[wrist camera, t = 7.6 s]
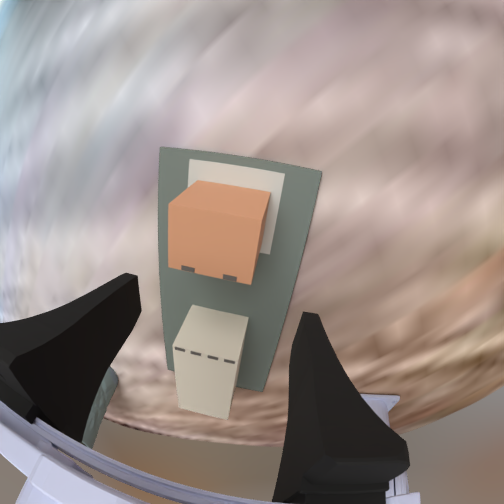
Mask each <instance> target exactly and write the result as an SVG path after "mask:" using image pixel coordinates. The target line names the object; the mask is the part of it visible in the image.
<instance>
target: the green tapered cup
mask: <svg viewBox="0 0 504 504" xmlns="http://www.w3.org/2000/svg"><path fill="white" fill-rule="evenodd" d="M117 384H118V377H117V375H116V373H115V372H114V370H113V369H112V368H111V367H110V366H109V368H108V370H107V372H106V374H105V376H104V378H103V381H102V383H101V385H100V387H99V390H98V392H97V395H96V397H95V400H94V402H93V405H92V408H91V411H90V414H89V417H88V420H87V424H86V428H85V431H84V435H83V440H82V442H81V444H83V445H84V446H86V447H88V448H90V449H92V448H93V445H94V442H95V439H96V437H97V434H98V430H99V426H100V424H101V421H102V419H103V417H104V414H105V413H106V409H107V406H108V404H109V402H110V399H111V397H112V395H113V394H114V391H115V389H116V387H117Z"/></svg>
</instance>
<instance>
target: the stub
mask: <svg viewBox="0 0 504 504" xmlns="http://www.w3.org/2000/svg"><path fill="white" fill-rule="evenodd" d="M270 193H271V192H267V191H262V190H256V189H251V188H245V187H239V186H233V185H227V184H220V183H214V182H207V181H201V180H197V181H196V182H195V183H193V184H192V185H191V186H190V187H188V188H187V189H186V190H185V191H183V192H182V193H181V194H180V195H179V196H177V197H176V198H175V199H174V200H173V201H171V202H170V203H169V204H168V267H170V268H174V269H178V270H183V271H187V272H192V273H197V274H201V275H206V276H210V277H215V278H220V279H225V280H229V281H234V282H239V283H244V284H249V285H251V283H252V279H253V276H254V272H255V268H256V264H257V260H258V257H259V253H260V249H261V245H262V239H263V234H264V228H265V222H266V216H267V211H268V205H269V199H270Z"/></svg>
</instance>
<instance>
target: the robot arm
mask: <svg viewBox="0 0 504 504" xmlns="http://www.w3.org/2000/svg"><path fill="white" fill-rule="evenodd" d="M141 311H142V310H141V302H140V294H139V285H138V276H137V275H133V274H129V273H124V274H122V275H120V276H118V277H116V278H115V279H113V280H111V281H109V282H107V283H106V284H104V285H102V286H100V287H98V288H97V289H95V290H93V291H91V292H89V293H88V294H86V295H84V296H82V297H80V298H78V299H76V300H74V301H72V302H70V303H68V304H66V305H63V306H61V307H59V308H56V309H54V310H51V311H48V312H46V313H42V314H39V315H36V316H33V317H30V318H26V319H22V320H17V321H12V322H6V323H0V453H1V454H2V455H3V456H4V457H5V458H6V459H7V460H8V461H9V462H11V463H12V464H13V465H14V466H15V467H16V468H18V469H19V470H20V471H21V472H22V473H24V474H25V475H26V476H27V477H28V478H27V480H26V482H25V484H24V486H23V488H22V490H21V493H20V495H19V497H18V499H17V501H16V503H15V504H150V503H147V502H144V501H142V500H139V499H137V498H134V497H132V496H130V495H127V494H125V493H123V492H120V491H118V490H116V489H114V488H111V487H109V486H107V485H105V484H103V483H101V482H99V481H97V480H94V479H93V477H92V475H90V474H89V473H87V472H86V471H84V470H83V469H82V468H80V467H79V466H78V465H77V464H76V463H75V462H74V461H73V460H71V459H70V458H68V457H67V456H65V455H64V454H62V453H61V452H59V451H58V449H59V450H60V451H62V452H64V453H65V454H67V455H69V456H70V457H72V458H74V459H76V460H78V461H79V462H81V463H83V464H85V465H87V466H89V467H91V468H93V469H95V470H97V471H99V472H101V473H103V474H105V475H107V476H109V477H111V478H114V479H116V480H118V481H120V482H123V483H125V484H128V485H130V486H133V487H135V488H138V489H140V490H143V491H145V492H148V493H151V494H154V495H157V496H160V497H163V498H166V499H169V500H172V501H175V502H179V503H182V504H421V502H420V493H419V492H413V493H409V486H408V478H407V472H406V470H407V469H408V468H409V466H410V462H409V452H408V448H407V444H406V441H405V440H404V439H402V438H401V437H400V436H399V435H398V434H397V433H395V432H394V431H393V430H392V429H391V428H390V424H389V417H388V412H389V411H390V410H391V409H392V408H393V406H394V405H395V404H396V403H397V402H398V401H399V400H400V396H398V395H373V394H359V392H358V391H357V390H356V388H355V387H354V385H353V384H352V382H351V381H350V379H349V377H348V376H347V374H346V372H345V371H344V369H343V367H342V365H341V364H340V362H339V360H338V358H337V356H336V354H335V352H334V350H333V348H332V346H331V344H330V341H329V339H328V337H327V335H326V332H325V330H324V327H323V325H322V322H321V320H320V317H319V315H318V314H314V313H308V312H303V314H302V317H301V320H300V323H299V326H298V329H297V332H296V335H295V338H294V341H293V344H292V349H291V356H290V364H289V407H288V421H287V428H286V435H285V441H284V447H283V453H282V458H281V463H280V468H279V473H278V478H277V482H276V487H275V491H274V496H273V499H272V502H267V501H259V500H252V499H245V498H239V497H233V496H228V495H223V494H218V493H213V492H209V491H205V490H201V489H196V488H192V487H189V486H186V485H182V484H179V483H175V482H172V481H169V480H165V479H163V478H160V477H157V476H153V475H151V474H148V473H145V472H143V471H140V470H137V469H135V468H132V467H130V466H127V465H125V464H123V463H120V462H118V461H116V460H113V459H111V458H109V457H107V456H105V455H103V454H100V453H98V452H96V451H94V450H92V449H90V448H88V447H86V446H84V445H83V444H81V442H82V440H83V435H84V431H85V428H86V424H87V420H88V417H89V414H90V411H91V408H92V405H93V402H94V400H95V397H96V395H97V392H98V390H99V387H100V385H101V383H102V381H103V378H104V376H105V374H106V372H107V370H108V368H109V366H110V365H111V363H112V361H113V360H114V358H115V357H116V355H117V353H118V352H119V350H120V349H121V347H122V346H123V344H124V343H125V341H126V339H127V338H128V336H129V335H130V333H131V332H132V330H133V328H134V326H135V324H136V322H137V320H138V318H139V316H140V313H141Z"/></svg>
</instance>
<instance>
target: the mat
mask: <svg viewBox="0 0 504 504" xmlns="http://www.w3.org/2000/svg"><path fill="white" fill-rule="evenodd" d="M321 174H322V171H319V170H314V169H309V168H304V167H300V166H295V165H289V164H284V163H279V162H273V161H268V160H262V159H256V158H250V157H243V156H237V155H230V154H223V153H215V152H207V151H199V150H190V149H180V148H170V147H160V155H159V180H158V250H159V276H160V293H161V308H162V320H163V331H164V341H165V350H166V359H167V367H168V370H171V371H175V369H174V358H173V347H172V345H173V343H174V341H175V339H176V337H177V335H178V333H179V331H180V328H181V326H182V324H183V322H184V320H185V318H186V316H187V314H188V312H189V310H190V308H191V306H192V305H196V306H200V307H205V308H209V309H213V310H218V311H222V312H227V313H232V314H236V315H241V316H246V317H249V318H248V324H247V329H246V335H245V340H244V346H243V351H242V357H241V362H240V368H239V373H238V378H237V383H236V387H240V388H245V389H250V390H255V391H260V392H263V389H264V385H265V382H266V379H267V376H268V373H269V370H270V367H271V363H272V360H273V357H274V354H275V350H276V347H277V344H278V340H279V337H280V334H281V330H282V327H283V324H284V320H285V317H286V313H287V310H288V306H289V302H290V299H291V295H292V292H293V288H294V284H295V281H296V277H297V273H298V269H299V266H300V262H301V258H302V254H303V250H304V246H305V242H306V238H307V234H308V230H309V226H310V222H311V218H312V213H313V209H314V205H315V201H316V196H317V192H318V187H319V183H320V178H321ZM197 180H201V181H207V182H214V183H220V184H227V185H233V186H239V187H245V188H251V189H256V190H262V191H267V192H271V193H270V199H269V205H268V211H267V216H266V222H265V228H264V234H263V239H262V245H261V249H260V253H259V257H258V260H257V264H256V268H255V272H254V276H253V279H252V283H251V285H249V284H244V283H239V282H234V281H229V280H225V279H220V278H215V277H210V276H206V275H201V274H197V273H192V272H187V271H183V270H178V269H174V268H170V267H168V204H169V203H170V202H171V201H173V200H174V199H175V198H176V197H177V196H179V195H180V194H181V193H182V192H183V191H185V190H186V189H187V188H188V187H190V186H191V185H192V184H193V183H195V182H196V181H197Z"/></svg>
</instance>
